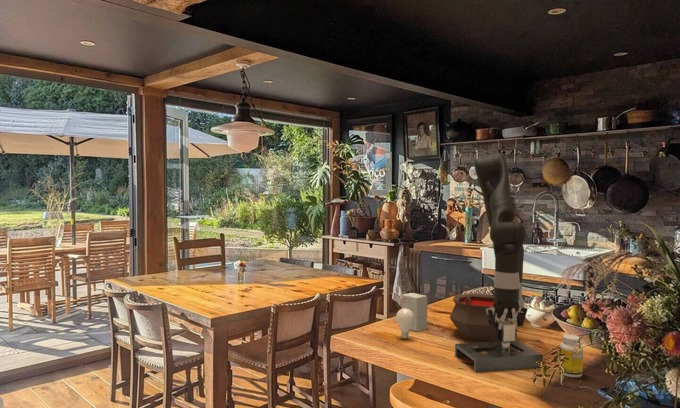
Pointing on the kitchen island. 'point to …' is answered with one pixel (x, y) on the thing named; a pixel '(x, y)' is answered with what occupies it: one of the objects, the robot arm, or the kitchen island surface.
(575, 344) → the pill bottle
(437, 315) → the kitchen island surface
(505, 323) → the keyhole peg
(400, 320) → the lightbulb
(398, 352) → the kitchen island surface
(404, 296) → the small box
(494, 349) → the keyhole plate
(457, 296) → the brown cooking pot
